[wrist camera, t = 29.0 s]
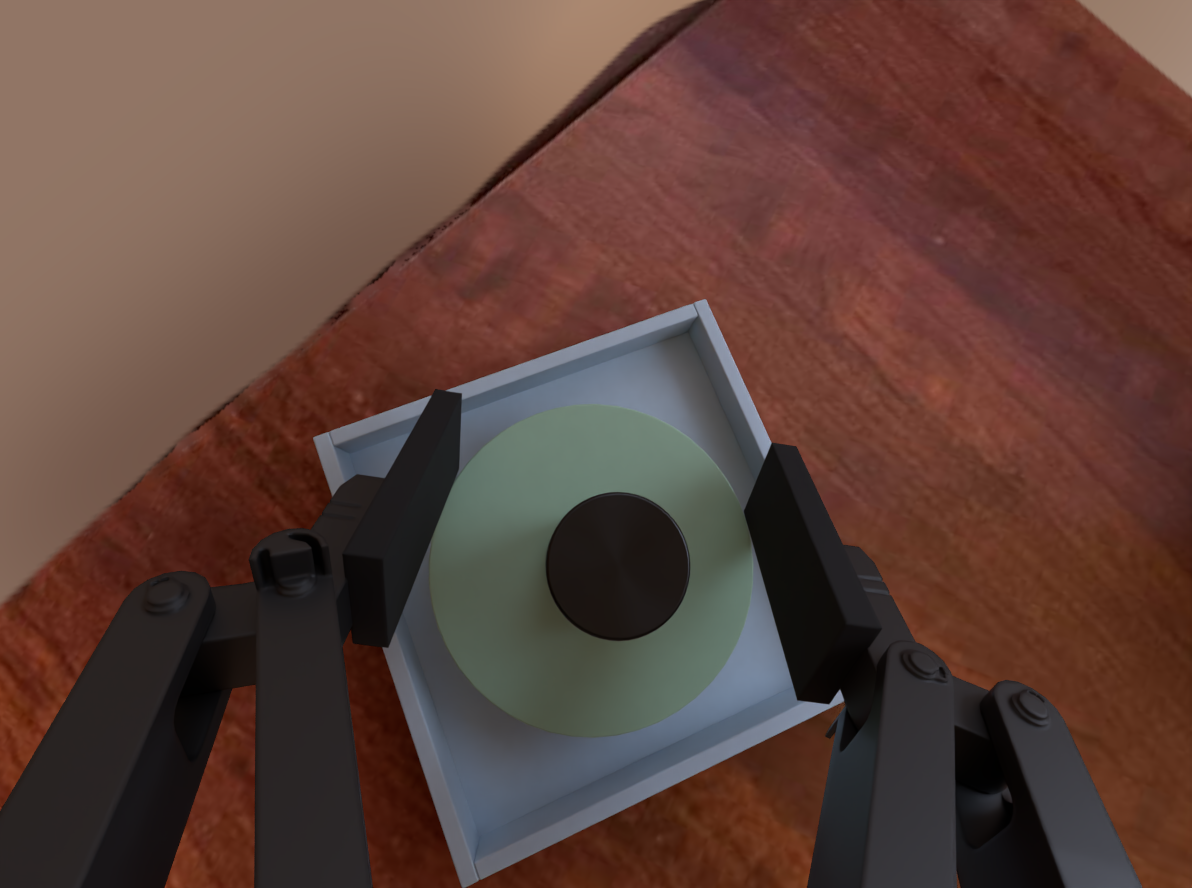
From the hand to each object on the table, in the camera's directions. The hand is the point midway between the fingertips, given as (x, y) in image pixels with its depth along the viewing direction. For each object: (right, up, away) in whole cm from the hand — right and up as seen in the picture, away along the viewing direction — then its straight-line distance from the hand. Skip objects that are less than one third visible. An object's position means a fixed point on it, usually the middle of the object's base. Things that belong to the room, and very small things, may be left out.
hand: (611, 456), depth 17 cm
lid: (-1, -3, 0) cm, 3 cm away
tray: (-1, -4, +2) cm, 4 cm away
